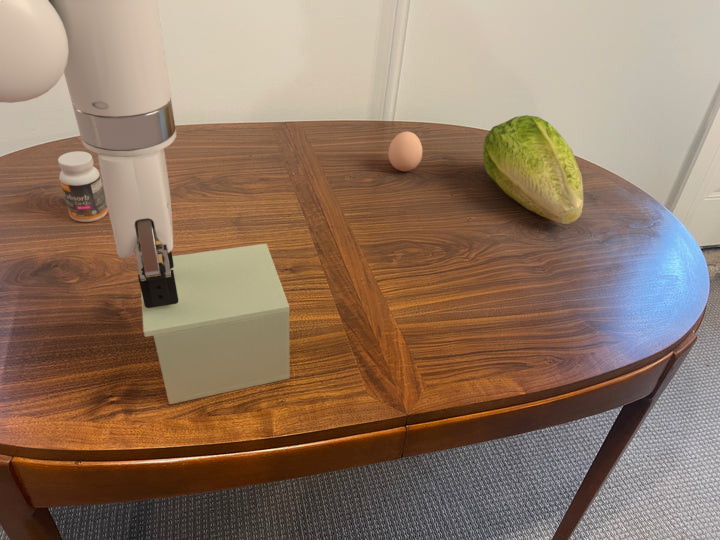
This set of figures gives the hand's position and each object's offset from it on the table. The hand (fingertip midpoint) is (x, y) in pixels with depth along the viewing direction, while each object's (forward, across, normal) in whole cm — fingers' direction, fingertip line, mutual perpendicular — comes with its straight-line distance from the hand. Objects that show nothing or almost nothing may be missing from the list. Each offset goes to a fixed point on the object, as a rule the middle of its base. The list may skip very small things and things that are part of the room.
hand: (160, 284), depth 56 cm
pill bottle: (+13, -36, -10) cm, 40 cm away
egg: (+13, -40, +47) cm, 63 cm away
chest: (+12, 0, +6) cm, 14 cm away
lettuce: (+13, -24, +66) cm, 71 cm away
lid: (+2, 0, +5) cm, 5 cm away
